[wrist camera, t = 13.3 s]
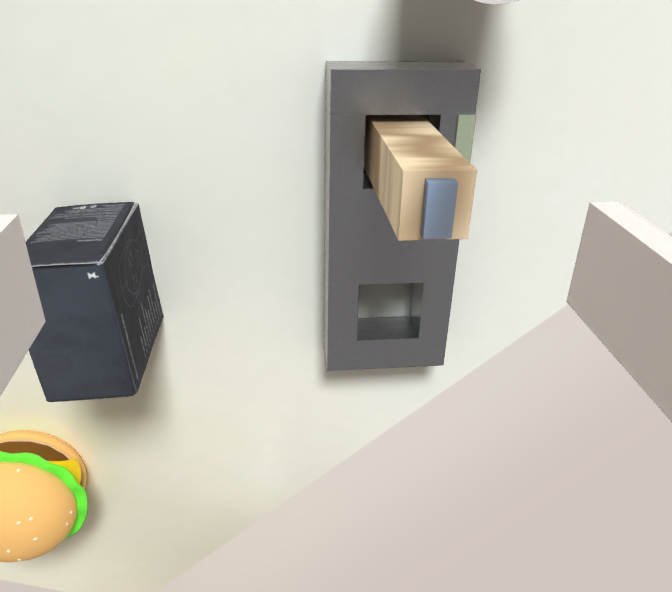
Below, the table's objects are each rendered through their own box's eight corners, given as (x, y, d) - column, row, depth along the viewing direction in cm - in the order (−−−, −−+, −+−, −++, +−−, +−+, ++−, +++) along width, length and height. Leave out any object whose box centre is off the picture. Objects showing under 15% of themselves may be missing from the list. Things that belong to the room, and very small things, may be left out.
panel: (323, 347, 54) (327, 372, 51) (325, 61, 42) (331, 70, 39) (433, 342, 55) (443, 366, 52) (465, 61, 43) (481, 70, 40)
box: (49, 205, 45) (-5, 268, 36) (139, 199, 46) (107, 259, 37) (84, 325, 50) (45, 406, 41) (164, 318, 51) (143, 397, 42)
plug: (363, 165, 46) (401, 246, 33) (365, 112, 44) (406, 176, 31) (414, 165, 46) (471, 244, 34) (419, 111, 44) (481, 174, 32)
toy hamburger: (88, 519, 61) (63, 597, 54) (-41, 499, 58) (-86, 579, 51) (110, 431, 56) (86, 504, 49) (-31, 404, 53) (-79, 478, 46)
